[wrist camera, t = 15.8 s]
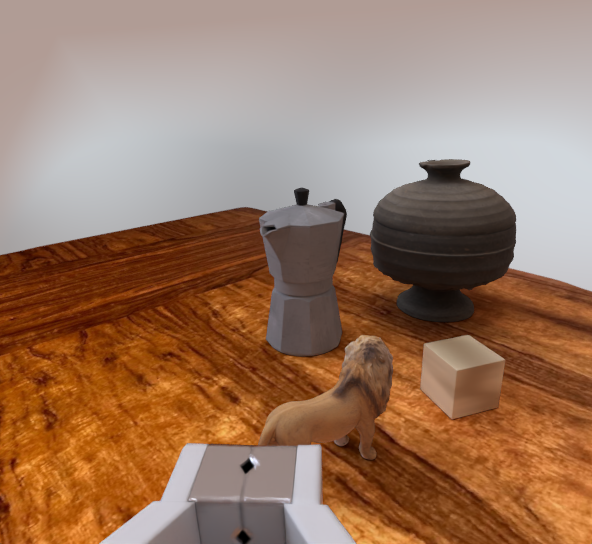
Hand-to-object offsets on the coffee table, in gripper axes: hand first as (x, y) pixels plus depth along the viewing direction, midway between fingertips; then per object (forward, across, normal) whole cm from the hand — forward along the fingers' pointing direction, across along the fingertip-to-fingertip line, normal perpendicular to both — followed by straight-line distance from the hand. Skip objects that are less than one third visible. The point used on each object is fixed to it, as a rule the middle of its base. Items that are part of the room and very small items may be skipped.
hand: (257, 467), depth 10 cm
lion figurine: (+21, -1, +19) cm, 28 cm away
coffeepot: (+42, +1, +19) cm, 46 cm away
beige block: (+30, -14, +19) cm, 38 cm away
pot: (+51, -16, +19) cm, 56 cm away
